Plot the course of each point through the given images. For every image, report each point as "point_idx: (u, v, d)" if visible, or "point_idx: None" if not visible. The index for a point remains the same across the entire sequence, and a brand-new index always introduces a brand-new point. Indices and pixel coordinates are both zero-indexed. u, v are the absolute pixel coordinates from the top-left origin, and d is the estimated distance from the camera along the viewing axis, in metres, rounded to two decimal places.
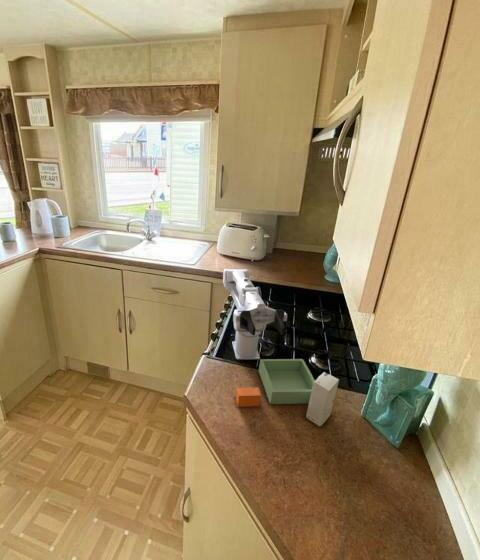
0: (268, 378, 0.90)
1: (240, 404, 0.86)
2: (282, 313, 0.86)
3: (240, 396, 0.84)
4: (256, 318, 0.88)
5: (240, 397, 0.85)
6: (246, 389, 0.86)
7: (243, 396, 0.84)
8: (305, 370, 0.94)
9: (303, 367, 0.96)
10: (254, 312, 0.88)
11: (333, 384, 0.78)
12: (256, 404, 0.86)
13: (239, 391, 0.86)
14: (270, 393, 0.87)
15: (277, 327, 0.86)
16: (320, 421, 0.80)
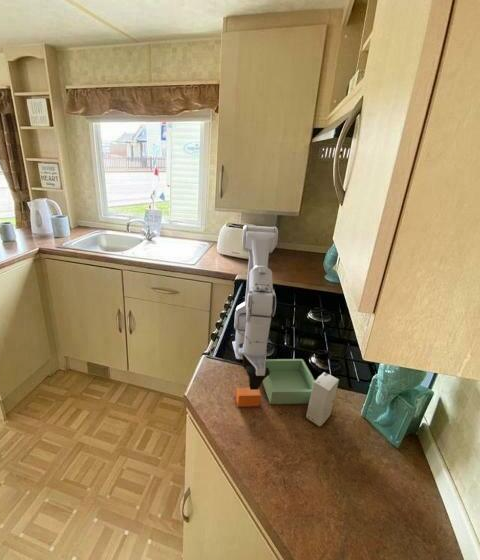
0: (268, 378, 0.90)
1: (240, 404, 0.86)
2: (248, 375, 0.76)
3: (240, 396, 0.84)
4: None
5: (240, 397, 0.85)
6: (246, 389, 0.86)
7: (243, 396, 0.84)
8: (305, 370, 0.94)
9: (303, 367, 0.96)
10: None
11: (333, 384, 0.78)
12: (256, 404, 0.86)
13: (239, 391, 0.86)
14: (270, 393, 0.87)
15: None
16: (320, 421, 0.80)
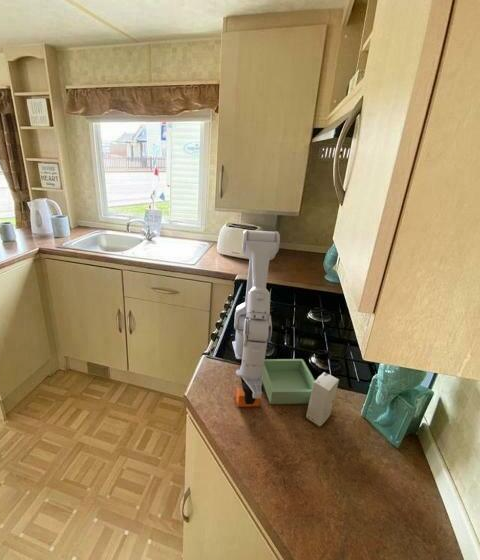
0: (268, 378, 0.90)
1: (240, 404, 0.86)
2: (244, 391, 0.81)
3: (240, 396, 0.84)
4: None
5: (240, 397, 0.85)
6: None
7: (243, 396, 0.84)
8: (305, 370, 0.94)
9: (303, 367, 0.96)
10: None
11: (333, 384, 0.78)
12: (256, 404, 0.86)
13: (239, 391, 0.86)
14: (270, 393, 0.87)
15: None
16: (320, 421, 0.80)
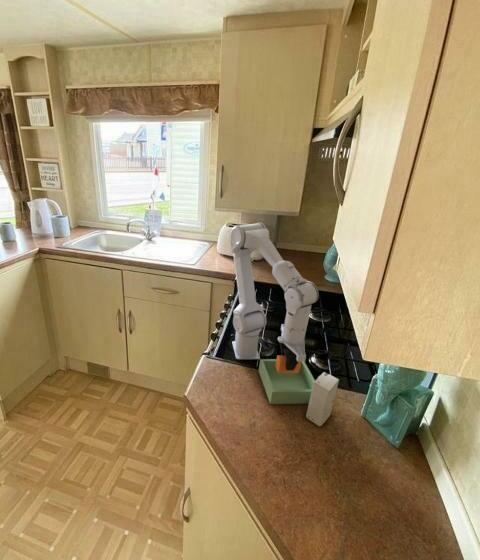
0: (268, 378, 0.90)
1: (280, 371, 0.88)
2: (286, 356, 0.84)
3: (281, 362, 0.87)
4: None
5: (281, 363, 0.87)
6: None
7: (284, 363, 0.87)
8: (305, 370, 0.94)
9: (303, 367, 0.96)
10: None
11: (333, 384, 0.78)
12: (296, 371, 0.89)
13: (279, 358, 0.88)
14: (270, 393, 0.87)
15: None
16: (320, 421, 0.80)
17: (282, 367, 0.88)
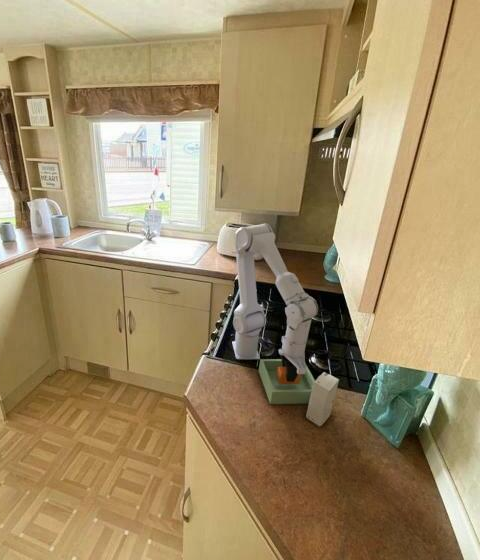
0: (268, 378, 0.90)
1: (281, 382, 0.91)
2: (286, 368, 0.87)
3: (282, 374, 0.90)
4: None
5: (282, 375, 0.90)
6: None
7: (285, 374, 0.90)
8: None
9: None
10: None
11: (333, 384, 0.78)
12: (296, 382, 0.91)
13: (280, 370, 0.91)
14: (270, 393, 0.87)
15: None
16: (320, 421, 0.80)
17: (283, 378, 0.90)
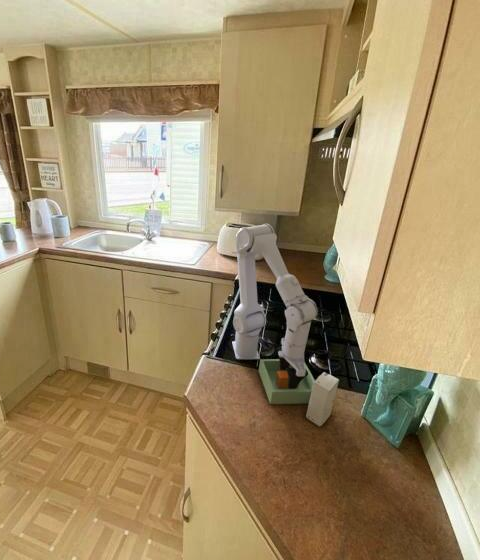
0: (268, 378, 0.90)
1: (281, 386, 0.91)
2: (288, 375, 0.85)
3: (281, 378, 0.90)
4: None
5: (281, 379, 0.90)
6: (286, 372, 0.92)
7: (284, 378, 0.90)
8: None
9: None
10: None
11: (333, 384, 0.78)
12: None
13: (280, 374, 0.92)
14: (270, 393, 0.87)
15: None
16: (320, 421, 0.80)
17: (282, 383, 0.91)
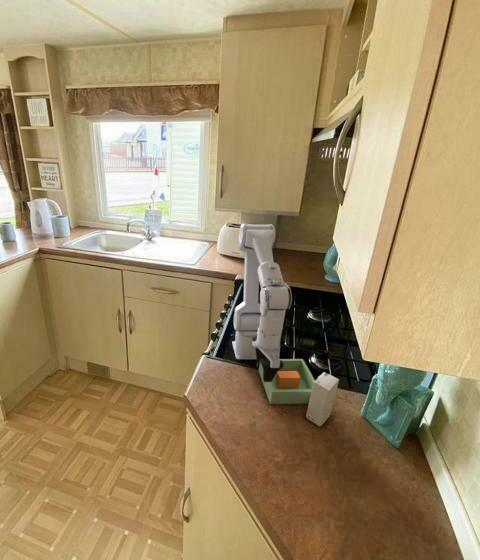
0: None
1: (281, 386, 0.91)
2: (262, 367, 0.78)
3: (281, 378, 0.90)
4: None
5: (281, 379, 0.90)
6: (286, 372, 0.92)
7: (284, 378, 0.90)
8: (305, 370, 0.94)
9: (303, 367, 0.96)
10: None
11: (333, 384, 0.78)
12: (295, 386, 0.92)
13: (280, 374, 0.92)
14: (270, 393, 0.87)
15: None
16: (320, 421, 0.80)
17: (282, 383, 0.91)
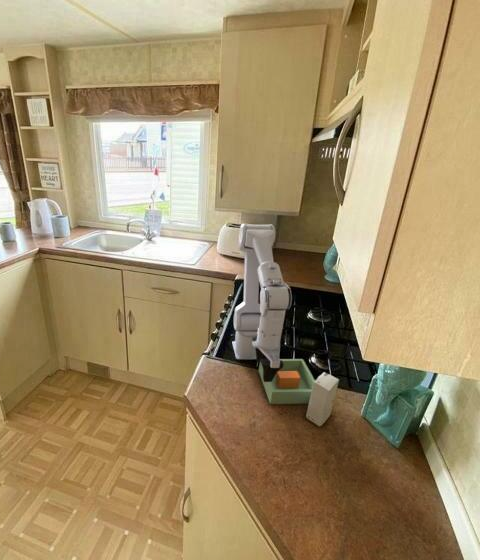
0: None
1: (281, 386, 0.91)
2: (262, 367, 0.78)
3: (281, 378, 0.90)
4: None
5: (281, 379, 0.90)
6: (286, 372, 0.92)
7: (284, 378, 0.90)
8: (305, 370, 0.94)
9: (303, 367, 0.96)
10: None
11: (333, 384, 0.78)
12: (295, 386, 0.92)
13: (280, 374, 0.92)
14: (270, 393, 0.87)
15: None
16: (320, 421, 0.80)
17: (282, 383, 0.91)
